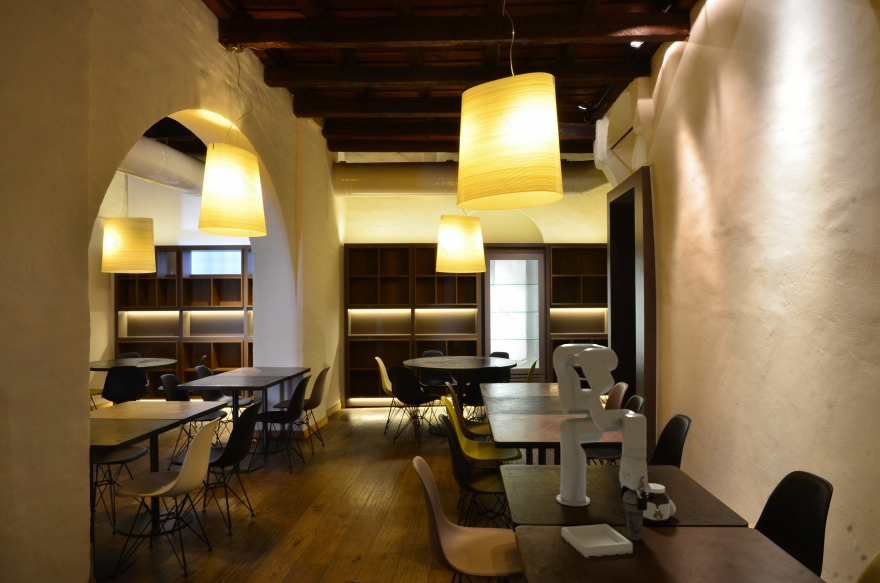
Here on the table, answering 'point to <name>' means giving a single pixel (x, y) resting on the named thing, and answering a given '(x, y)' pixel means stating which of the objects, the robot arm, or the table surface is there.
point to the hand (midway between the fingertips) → (633, 505)
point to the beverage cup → (632, 515)
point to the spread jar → (658, 505)
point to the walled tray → (596, 540)
